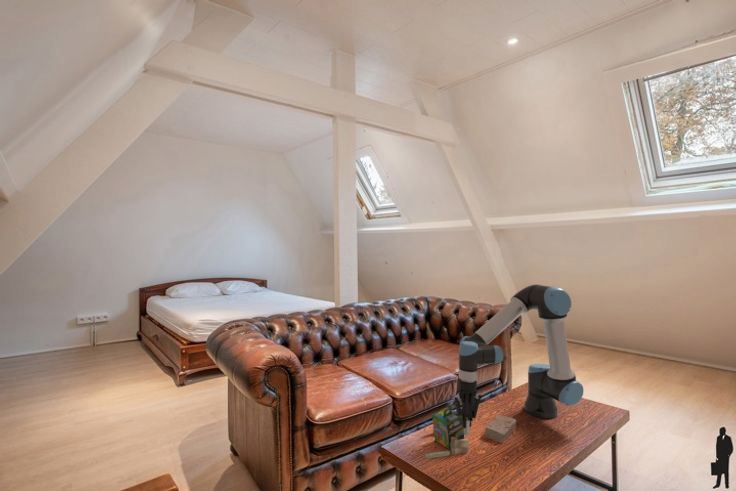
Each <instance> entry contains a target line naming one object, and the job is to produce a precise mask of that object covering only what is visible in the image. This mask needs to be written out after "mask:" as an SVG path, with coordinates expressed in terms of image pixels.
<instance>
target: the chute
mask: <svg viewBox="0 0 736 491" xmlns="http://www.w3.org/2000/svg"><path fill="white" fill-rule="evenodd" d="M432 427H433V429H432V430H433V431H432V433H433V434H434V426H432ZM465 453H466V454H467V453H469V439H468V438H464V439H461V440H455V438H454V437H451V450H450V454H451V455H452V456H455V455H459V454H465Z"/></svg>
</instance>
